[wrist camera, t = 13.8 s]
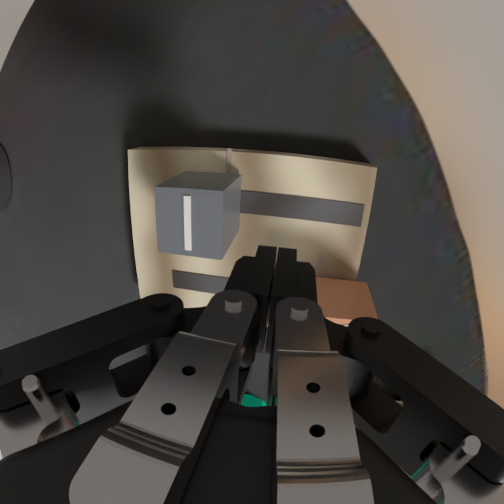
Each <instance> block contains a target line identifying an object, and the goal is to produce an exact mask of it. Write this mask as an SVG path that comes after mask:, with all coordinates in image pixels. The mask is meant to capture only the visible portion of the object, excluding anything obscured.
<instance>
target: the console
mask: <svg viewBox="0 0 504 504" xmlns="http://www.w3.org/2000/svg"><path fill="white" fill-rule="evenodd" d="M185 171H193V172H212V173H228V174H241V175H242V179H241V200H240V222H239V231H238V233H237V235H236V236H235V238H234V240H233V242H232V243H231V245H230V247H229V249H228V250H227V252H226V254H225V256H224V257H223V259H222V260H216V259H208V258H201V257H193V256H185V255H177V254H170V253H162V252H158V246H157V231H156V214H155V190H154V187H155V186H157V185H159V184H161V183H163V182H165V181H167V180H169V179H171V178H173V177H175V176H177V175H179V174H181V173H183V172H185ZM376 172H377V168H376V167H375V166H373V165H372V164H369V163H363V162H357V161H350V160H343V159H336V158H329V157H321V156H313V155H304V154H295V153H285V152H274V151H262V150H248V149H231V148H209V147H138V148H134V149H129V150H128V174H129V194H130V209H131V222H132V233H133V244H134V253H135V261H136V270H137V277H138V285H139V291H140V298H144V297H146V296H149V295H152V294H157V293H169V294H173V295H176V296H178V297H179V298H180V299H181V300H182V301H183V304H184V308H196V307H204V306H207V305H208V303H209V301H210V300H211V298H212V297H213V296H214V295H215V294H217V293H219V292H221V291H224V288H225V286H226V284H227V281H228V279H229V277H230V275H231V272H232V269H233V267H234V265H235V262H236V261H237V260H238V259H240V258H241V257H243V256H253V257H255V255H256V252H257V249H258V245H264V246H274V247H277V254H278V248H279V247H284V248H293V249H297V261H300V262H309V263H310V264H311V265H312V266H313V267H314V269H315V274H316V277H322V278H331V279H340V280H349V281H356V278H357V273H358V269H359V265H360V260H361V255H362V251H363V246H364V241H365V236H366V231H367V226H368V221H369V215H370V209H371V204H372V198H373V192H374V185H375V179H376ZM276 261H277V255H276ZM275 267H276V266H275ZM267 327H268V326H267Z"/></svg>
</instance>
